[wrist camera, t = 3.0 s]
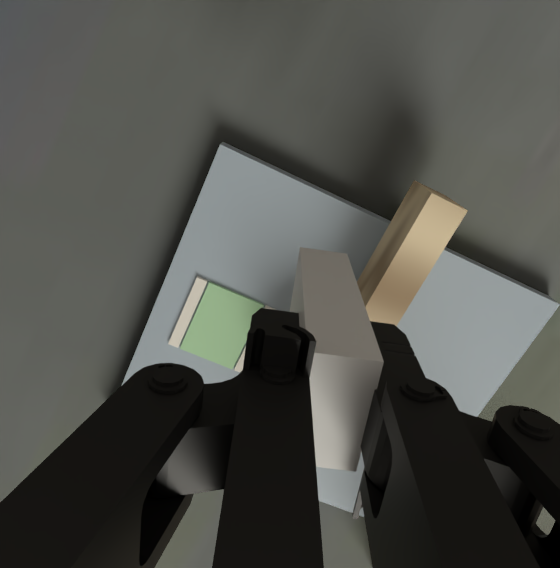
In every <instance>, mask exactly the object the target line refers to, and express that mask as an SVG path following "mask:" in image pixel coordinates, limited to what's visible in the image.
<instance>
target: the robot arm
mask: <svg viewBox="0 0 560 568" xmlns="http://www.w3.org/2000/svg"><path fill="white" fill-rule="evenodd" d="M361 451H362V456H363V461H364V466H365V467H364V470H363V474H362V478H361V482H360V486H359V490H358V494H357V498H356V501H355V505H354V509H353V518H355V519H358V516H359V513H360V509H361V508H362V507H363V511H364V517H365V523H366V529H367V535H368V541H369V547H370V552H371V558H372V564H373V568H560V424H558V423H557V422H555V421H554V420H553V419H551V418H550V417H548V416H546V415H544V414H542V413H541V412H539V411H537V410H534V409H532V408H531V409H529V408H528V407H523V406H512V405H509V406H504V407H500V408H499V409H498V410H497V411H496V413H495V415H494V418H493V421H492V422H491V421H488V420H485V419H482V418H479V417H475V416H472V415H469V414H466V413H464V412H461V411H459V410H458V408H457V406H456V404H455V402H454V400H453V398H452V396H451V395H450V394H449V392H448V391H447V390H446V389H445V388H444V387H442V386H441V385H439V384H438V383H436V382H434V381H432V380H430V379H428V378H426V377H425V375H424V373H423V371H422V368H421V366H420V364H419V362H418V360H417V358H416V356H415V353H414V351H413V349H412V347H411V345H410V343H409V340H408V338H407V336H406V334H405V333H403V332H402V331H401V330H400V329H399V328H398V327H396V326H395V325H394V324H388V323H380V322H373V321H370V320H369V317H368V314H367V311H366V308H365V305H364V302H363V299H362V296H361V293H360V290H359V287H358V284H357V281H356V278H355V275H354V273H353V270H352V267H351V264H350V261H349V258H348V255H347V254H346V253H339V252H331V251H324V250H317V249H310V248H303V247H300V250H299V256H298V263H297V269H296V275H295V281H294V287H293V293H292V299H291V305H290V312H288V311H280V310H273V309H266V308H260V309H259V310H258V311H257V312H256V313H254V314H253V315H252V318H251V325H250V330H249V331H248V333H247V341H246V349H245V356H244V364H243V370H242V371H241V372H240V373H239V374H238V375H237V376H235V377H234V378H232V379H230V380H227V381H223V382H218V383H209V384H204V381H203V379H202V376H201V375H200V374H199V373H198V372H196V371H195V370H194V369H192V368H189V367H187V366H185V365H180V364H174V363H158V364H153V365H150V366H146V367H144V368H142V369H140V370H139V371H137V372H136V373H134V374H133V375H132V376H131V377H130V378H129V379H128V380H127V381H126V382H125V383H124V384H123V385H122V386H121V387H120V388H119V389H118V390H117V391H116V392H115V393H114V394H113V395H111V396H110V397H109V398H108V399H107V400H106V401H105V402H104V403H103V404H102V405H101V406H100V407H99V408H98V409H97V410H96V411H95V412H94V413H93V414H92V415H91V416H90V417H89V418H88V419H87V420H86V421H85V422H83V423H82V424H81V425H80V426H79V427H78V428H77V429H76V430H75V431H74V432H73V433H72V434H71V435H70V436H69V437H68V438H67V439H66V440H65V441H64V442H63V443H62V444H61V445H60V446H59V447H58V448H56V449H55V450H54V451H53V452H52V453H51V454H50V455H49V456H48V457H47V458H46V459H45V460H44V461H43V462H42V463H41V464H40V465H39V466H38V467H37V468H36V469H35V470H34V471H33V472H32V473H31V474H30V475H28V476H27V477H26V478H25V479H24V480H23V481H22V482H21V483H20V484H19V485H18V486H17V487H16V488H15V489H14V490H13V491H12V492H11V493H10V494H9V495H8V496H7V497H6V498H5V499H4V500H3V501H1V502H0V568H154V567H155V566H156V564H157V562H158V560H159V559H160V557H161V555H162V553H163V551H164V550H165V548H166V546H167V544H168V543H169V541H170V539H171V537H172V535H173V534H174V532H175V530H176V528H177V527H178V525H179V523H180V521H181V519H182V518H183V516H184V514H185V512H186V511H187V509H188V507H189V505H190V503H191V500H192V497H193V493H200V492H207V491H213V490H220V489H224V495H223V501H222V508H221V514H220V520H219V527H218V533H217V540H216V546H215V553H214V559H213V566H212V568H324V565H323V552H322V539H321V525H320V512H319V499H318V485H317V472H316V467H321V468H329V469H338V470H346V471H354V472H356V471H357V467H358V463H359V459H360V455H361ZM543 507H544V508H545V509H546V510H547V511H548V512H549V514H550V515H551V516H552V517H553V518H554V519H555V520H556V521H555V523H554V526H553V528H552V530H551V532H550V534H549V535H546V534H545V533H544V532H543V531H541V530H540V528H539V527H538V526H537V525H536V522H537V519H538V517H539V515H540V513H541V510H542V508H543Z"/></svg>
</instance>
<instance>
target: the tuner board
mask: <svg viewBox="0 0 560 568" xmlns="http://www.w3.org/2000/svg"><path fill="white" fill-rule="evenodd" d="M390 222H391V221H390V220H388V219H385V218H383V217H381V216H379V215H377V214H375V213H373V212H371V211H369V210H366V209H364V208H362V207H360V206H358V205H356V204H354V203H352V202H350V201H347V200H345V199H343V198H341V197H339V196H337V195H335V194H333V193H331V192H328V191H326V190H324V189H322V188H320V187H318V186H316V185H314V184H311V183H309V182H307V181H305V180H303V179H301V178H299V177H297V176H295V175H292V174H290V173H288V172H286V171H284V170H282V169H280V168H278V167H276V166H273V165H271V164H269V163H267V162H265V161H263V160H261V159H259V158H257V157H254V156H252V155H250V154H248V153H246V152H244V151H242V150H240V149H237V148H235V147H233V146H231V145H229V144H227V143H225V142H222V143H221V144H220V146H219V148H218V151H217V153H216V156H215V158H214V160H213V163H212V165H211V168H210V170H209V173H208V175H207V178H206V180H205V182H204V185H203V187H202V190H201V192H200V195H199V197H198V200H197V202H196V204H195V207H194V209H193V212H192V214H191V217H190V219H189V222H188V224H187V226H186V229H185V231H184V234H183V236H182V239H181V241H180V244H179V246H178V249H177V251H176V253H175V256H174V258H173V261H172V263H171V266H170V268H169V271H168V273H167V275H166V278H165V280H164V283H163V285H162V288H161V290H160V293H159V295H158V297H157V300H156V302H155V305H154V307H153V310H152V312H151V315H150V317H149V319H148V322H147V324H146V327H145V329H144V332H143V334H142V337H141V339H140V342H139V344H138V346H137V349H136V351H135V354H134V356H133V359H132V361H131V364H130V366H129V368H128V371H127V373H126V376H125V378H124V381H123V383H122V385H123V384H124V383H125V382H126V381H127V380H128V379H129V378H130V377H131V376H132V375H133V374H134V373H136V372H137V371H139V370H140V369H142V368H144V367H146V366H150V365H153V364H158V363H174V364H180V365H185V366H187V367H189V368H192V369H194V370H195V371H196V372H198V373H199V374H200V375H201V376H202V379H203V381H204V384H209V383H218V382H223V381H227V380H230V379H232V378H234V377H235V376H237V375H238V374H239V373H240V372H241V371H242V370H243V364H244V356H245V349H246V341H247V333H248V331H249V330H250V325H251V318H252V315H253V314H254V313H256V312H257V311H258V310H259V309H260V308H266V309H273V310H280V311H288V312H290V305H291V299H292V293H293V287H294V281H295V275H296V269H297V263H298V256H299V250H300V247H303V248H310V249H317V250H324V251H331V252H339V253H346V254H347V255H348V258H349V261H350V264H351V267H352V270H353V273H354V275H355V278H356V281H358V279H359V277H360V275H361V274H362V272H363V270H364V268H365V267H366V265H367V263H368V261H369V259H370V258H371V256H372V254H373V252H374V251H375V249H376V247H377V245H378V243H379V242H380V240H381V238H382V236H383V235H384V233H385V231H386V229H387V228H388V226H389V224H390ZM559 305H560V304H559V303H557V302H556V301H555V300H554V299H552V298H551V297H550V296H548V295H546V294H544V293H542V292H540V291H538V290H536V289H533V288H531V287H529V286H527V285H525V284H523V283H521V282H519V281H517V280H514V279H512V278H510V277H508V276H506V275H504V274H502V273H500V272H498V271H495V270H493V269H491V268H489V267H487V266H485V265H483V264H481V263H479V262H476V261H474V260H472V259H470V258H468V257H466V256H464V255H462V254H459V253H457V252H455V251H453V250H451V249H449V248H447V247H445V248H444V250H443V252H442V253H441V255H440V257H439V258H438V260H437V261H436V263H435V265H434V266H433V268H432V269H431V271H430V273H429V274H428V276H427V278H426V279H425V281H424V282H423V284H422V286H421V287H420V289H419V291H418V292H417V294H416V295H415V297H414V299H413V300H412V302H411V304H410V305H409V307H408V308H407V310H406V312H405V313H404V315H403V316H402V318H401V320H400V321H399V323H398V325H397V326H396V327H398V328H399V329H400V330H401V331H402V332H403V333H405V334H406V336H407V338H408V340H409V343H410V345H411V347H412V349H413V351H414V353H415V356H416V358H417V360H418V362H419V364H420V366H421V368H422V371H423V373H424V375H425V377H426V378H428V379H430V380H432V381H434V382H436V383H438V384H439V385H441V386H442V387H444V388H445V389H446V390H447V391H448V392H449V394H450V395H451V396H452V398H453V400H454V402H455V404H456V406H457V408H458V410H459V411H461V412H464V413H466V414H469V415H472V416H475V417H477V416H478V415H479V414H480V412H481V411H482V409H483V408H484V407H485V405H486V404H487V403H488V401H489V400H490V399H491V397H492V396H493V395H494V393H495V392H496V391H497V389H498V388H499V386H500V385H501V384H502V382H503V381H504V380H505V378H506V377H507V376H508V374H509V373H510V372H511V370H512V369H513V368H514V366H515V365H516V363H517V362H518V361H519V359H520V358H521V357H522V355H523V354H524V353H525V351H526V350H527V349H528V347H529V346H530V345H531V343H532V342H533V340H534V339H535V338H536V336H537V335H538V334H539V332H540V331H541V330H542V328H543V327H544V326H545V324H546V323H547V322H548V320H549V319H550V317H551V316H552V315H553V313H554V312H555V311H556V309H557V308H558V307H559ZM364 467H365V466H364V461H363V456H362V452H361V455H360V459H359V463H358V467H357V471H356V472H354V471H346V470H338V469H329V468H321V467H316V472H317V485H318V499H319V501H321V502H324V503H327V504H329V505H332V506H335V507H338V508H340V509H343V510H346V511H349V512H351V513H353V509H354V505H355V501H356V498H357V494H358V490H359V486H360V482H361V478H362V474H363V470H364ZM359 515H360V516H362V517H364V511H363V507H362V508H361V509H360V513H359Z"/></svg>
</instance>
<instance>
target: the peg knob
mask: <svg viewBox="0 0 560 568" xmlns="http://www.w3.org/2000/svg"><path fill="white" fill-rule="evenodd" d="M466 213H467V210H466V209H465V208H463V207H462V206H460V205H459V204H457V203H456V202H454V201H453V200H451V199H450V198H448V197H447V196H445V195H443V194H441V193H439V192H437V191H435V190H433V189H431V188H429V187H427V186H425V185H423V184H421V183H419V182H417V181H415V180H414V181H413V183H412V185H411V187H410V188H409V190H408V192H407V194H406V196H405V197H404V199H403V201H402V203H401V204H400V206H399V208H398V210H397V212H396V213H395V215H394V217H393V219H392V220H391V222H390V224H389V226H388V228H387V229H386V231H385V233H384V235H383V236H382V238H381V240H380V242H379V243H378V245H377V247H376V249H375V251H374V252H373V254H372V256H371V258H370V259H369V261H368V263H367V265H366V267H365V268H364V270H363V272H362V274H361V275H360V277H359V279H358V281H357V284H358V287H359V290H360V293H361V296H362V299H363V302H364V305H365V308H366V311H367V314H368V317H369V320H370V321H373V322H380V323H388V324H394V325H395V326H397V325H398V323H399V321H400V320H401V318H402V316H403V315H404V313H405V312H406V310H407V308H408V307H409V305H410V304H411V302H412V300H413V299H414V297H415V295H416V294H417V292H418V291H419V289H420V287H421V286H422V284H423V282H424V281H425V279H426V278H427V276H428V274H429V273H430V271H431V269H432V268H433V266H434V265H435V263H436V261H437V260H438V258H439V257H440V255H441V253H442V252H443V250H444V248H445V247H446V245H447V244H448V242H449V240H450V239H451V237H452V235H453V234H454V232H455V231H456V229H457V227H458V226H459V224H460V222H461V221H462V219H463V218H464V216H465V214H466ZM361 452H362V451H361Z"/></svg>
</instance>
